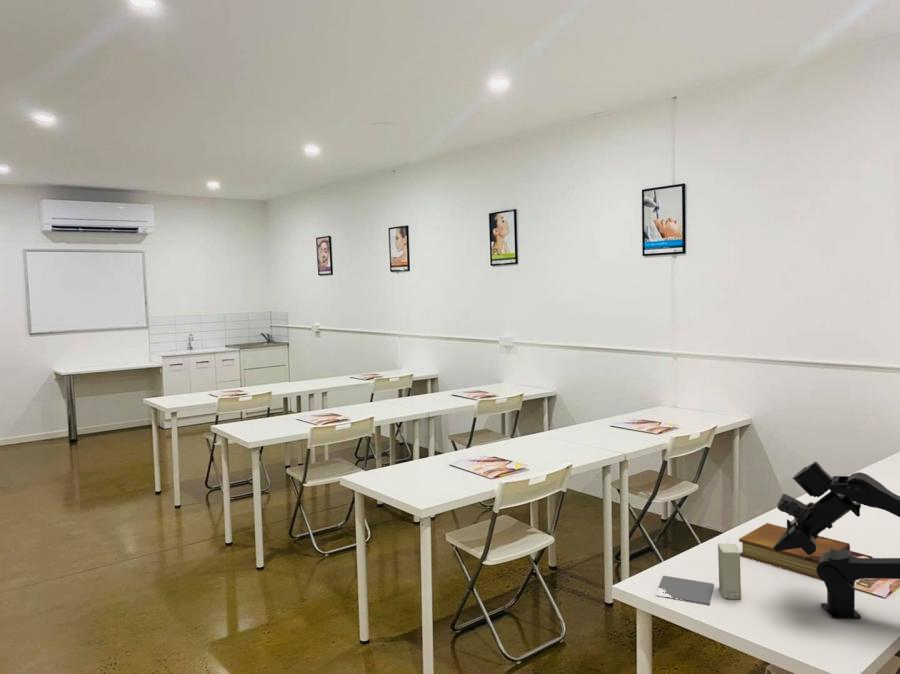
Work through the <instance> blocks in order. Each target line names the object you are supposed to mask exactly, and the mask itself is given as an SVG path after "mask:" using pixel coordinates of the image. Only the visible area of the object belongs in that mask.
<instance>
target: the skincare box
mask: <svg viewBox="0 0 900 674" xmlns="http://www.w3.org/2000/svg"><path fill="white" fill-rule="evenodd" d="M740 553H741V551H740V550H739V548H738V547H737V545H736V544H735V543H717V556H718V557H717V558H718V559H717V560H718V563H717V564H718V588H719V591H720V593H721V596H722V598H723V599H727V598H728V599H731V600H742V587H741V586H742V583H741V582H742V581H741V580H742V579H741V556H740Z"/></svg>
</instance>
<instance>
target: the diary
mask: <svg viewBox="0 0 900 674" xmlns="http://www.w3.org/2000/svg"><path fill="white" fill-rule="evenodd" d="M786 529H787V527H785V526H780V525H776V524H773V523H769V522H766V523H764V524H763V525H761V526H758V528H755V529H754V530H752V531H749V533H746V534H745V535H743V536H741V537H739V538H738V542H739V543H742V545H741V546H742V552H740V557H742V558H746V559H750V560H752V559H754V560H753V561H755V560H756V561H755V562H759V561H760V563H762V562H763V564H766V563H767V564H766V565H769V564H771V565H770V566H772V565H773V566H774V567H776V566H777V567H776V568H779V567H780V569H783V570H787V571H789V572H793V573H796V574H797V573H798V574H800V575H803V576H807V577H811V578H813V579H816V580H820V581H822V580H821V579H820V578H819V576H818V574H817V566H818V563H819V560H820V557H821V556H822V555H823V554H824V553H825V552H830V550H831V549H834V550H845V549H849V550H850V551H851V544H850V543H849V542H846V541H845V542H844V541H840V540H837V539H833V538H829V537H824V536H821V535H818V536H819V537H818V538H817V539H815V541H816V551H815V552H814V553H812V554H811V555H808V554H807V553H806V552H805V551H804V550H803V549H802V548H795V549H789V550H783V551H775V550H774V549H773V547H774V545H775V544H776V543H777V542H778V540H779V539H780V538H781V536H782V535H783V534H784V532H785V531H786ZM810 536H811V535H810Z"/></svg>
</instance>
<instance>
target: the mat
mask: <svg viewBox="0 0 900 674" xmlns="http://www.w3.org/2000/svg"><path fill="white" fill-rule="evenodd" d="M714 587H715V584H714V583H712V582H705V581H700V580H699V581H698V580H692V579H689V578H688V579H687V578H680V577H673V576H667V575H662V577H661V580H660V582H659V585H658V588H661V589H662V588H663V590H664V589H665V590H666V592H665V594H666V593H667V594H669V595H671V597H673V598H678V599H682V600H686V601H685V602H688V601H690V602H689V603H694V602H696V604H699V603H702V604H701V605H705V604H707V605H706V606H710V605H711V601H710V600H711V599H712V596H713V592H714ZM658 588H657V589H658ZM665 590H664V591H665ZM663 593H664V592H663ZM682 600H681V601H682Z"/></svg>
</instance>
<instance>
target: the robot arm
mask: <svg viewBox="0 0 900 674" xmlns="http://www.w3.org/2000/svg"><path fill="white" fill-rule="evenodd" d="M792 480H793V481H794V482H795V483H797V484H798V486H799V487H801V489H803V491H804V492H806V494H808V496H809V497H813V498H816V497H817V498H820V497H821V496H822V497H821V498H820V499H819V500H816V501H815V502H814V501H810V502H808V503H807V504H805V503H803V502H802V501H800V500H798V499H796V498H794V497H792V496H790V495H788V494H786V493H782V495H781V497H780V499H779V501H778V502H777V509H778V510H779V511H780V512H781V513H786V514H787V515H788V516H791V517H793V519H792V520H789V519H786V528H787V529H786V531H785V532H784V534H783V535H782V536H781V538H780V539H779V540H778V542H777V543H776V544H775V545H774V547H773V549H774V550H775V551H783V550H789V549H795V548H802V549H803V550H804V551H805V552H806V553H807V554H808V555H811V554H812V553H814V552H815V551H816V541H815V539H817V538H818V537H819V536H820V535H819V534H820V533H822V532H823V531H825V530H826V529H828V530H830V529H832V528H833V524H834V523H836V522H837V521H838V520H840V519H841V518H842V517H843V516H845V515H847V514H848V513H850V511H851V512H852V513H853V514H854V515H855V516H856V517H857V518H858V517H860V516H861V512H860V510H861V507H862V506H866V507H869V508H875V509H879V510H883V511H886V512H887V513H890V514H893V515H894V516H895V517H898V518H900V495H898V494H896V493H894V492H893V491H892V490H889V489H888V488H887V487H886V486H884V485H883V484H882V483H881V482H879V481H878V480H876V479H875V478H874V477H872V476H871V475H869V474H867V473H864V472H854V473H851V474H850V475H833V476H831V475H830V474H828V472H826V471H825V470H824V468H823V467H822V465H820V464H819V463H818V461H814V462H812V463H811V464H808V465H807V466H804V467H803V468H802V469H800V470H799V471H798V472H797V473H795V475H794V476H793V477H792ZM828 491H829V492H828ZM827 492H828V493H827ZM823 495H824V496H823ZM810 535H811V536H810ZM817 574H818V576H819V578H820V579H821V580H820V579H819V580H820V581H823V582H824V585H825V588H826V603H825V602H822V603H820V607H822V609H824V610H825V611H826V612H827V614H828V615H829V616H830V617H831V618H833V619H862V615H861V614H860V613H858V612H857V611H856V609H855V606H856V605H855V604H856V603H855V601H856V600H855V599H856V596H855V595H856V591H855V589H856V588H855V585H856V581H858V580H861V579H876V580H877V579H879V580H881V579H882V580H883V579H885V580H886V579H887V580H888V579H889V580H890V579H892V580H893V579H894V580H898V579H899V580H900V557H857V556H854V555H851V549H850V550H849V549H845V550H834V549H831V550H830V552H825V553H824V554H823V555H822V556H821V557H820V560H819V563H818V566H817Z"/></svg>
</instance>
